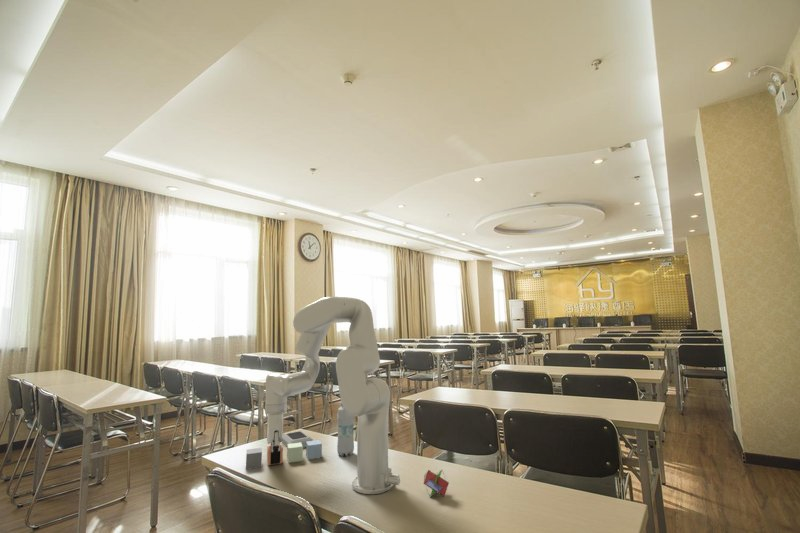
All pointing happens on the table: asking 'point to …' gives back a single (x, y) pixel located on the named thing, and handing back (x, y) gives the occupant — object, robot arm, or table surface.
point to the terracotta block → (269, 450)
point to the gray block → (253, 458)
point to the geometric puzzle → (435, 482)
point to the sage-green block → (294, 452)
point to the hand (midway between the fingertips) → (274, 460)
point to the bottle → (345, 432)
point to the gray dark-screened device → (295, 438)
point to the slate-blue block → (313, 449)
